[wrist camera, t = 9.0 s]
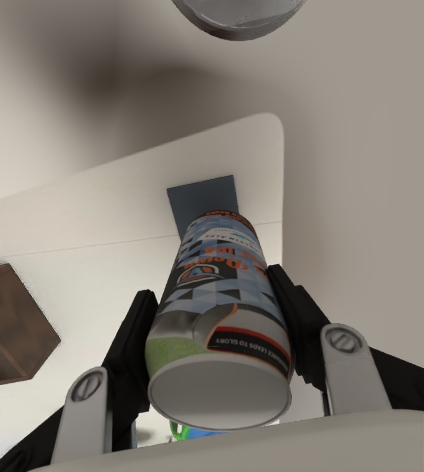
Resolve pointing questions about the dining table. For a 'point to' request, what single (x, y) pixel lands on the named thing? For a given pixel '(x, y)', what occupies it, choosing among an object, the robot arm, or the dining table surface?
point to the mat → (201, 200)
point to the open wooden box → (21, 331)
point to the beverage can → (220, 333)
